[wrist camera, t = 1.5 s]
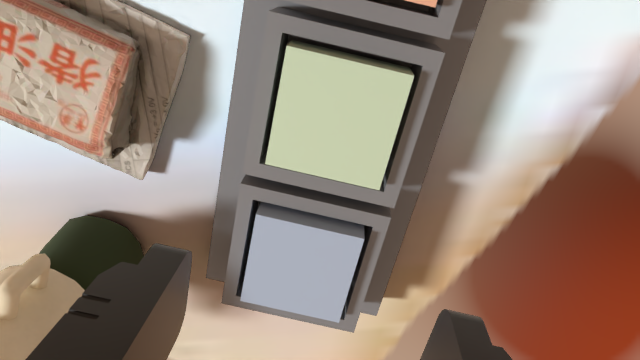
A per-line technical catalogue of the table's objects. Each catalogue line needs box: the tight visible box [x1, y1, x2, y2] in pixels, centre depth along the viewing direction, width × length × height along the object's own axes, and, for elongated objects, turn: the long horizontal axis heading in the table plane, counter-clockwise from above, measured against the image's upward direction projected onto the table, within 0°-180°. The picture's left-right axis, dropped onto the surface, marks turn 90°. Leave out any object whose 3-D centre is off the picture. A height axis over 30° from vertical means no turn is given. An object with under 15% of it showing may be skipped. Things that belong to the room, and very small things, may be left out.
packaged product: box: [0, 0, 191, 180], centre depth 26 cm, size 18×5×10 cm
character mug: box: [0, 216, 144, 360], centre depth 27 cm, size 11×7×13 cm, turn 159°
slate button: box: [240, 202, 364, 323], centre depth 27 cm, size 6×6×2 cm
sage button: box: [265, 40, 414, 190], centre depth 23 cm, size 6×6×2 cm
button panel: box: [206, 0, 486, 333], centre depth 25 cm, size 28×12×5 cm, turn 168°
